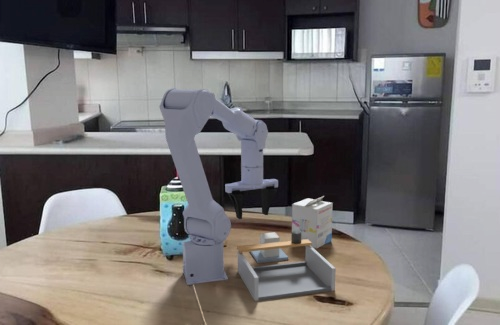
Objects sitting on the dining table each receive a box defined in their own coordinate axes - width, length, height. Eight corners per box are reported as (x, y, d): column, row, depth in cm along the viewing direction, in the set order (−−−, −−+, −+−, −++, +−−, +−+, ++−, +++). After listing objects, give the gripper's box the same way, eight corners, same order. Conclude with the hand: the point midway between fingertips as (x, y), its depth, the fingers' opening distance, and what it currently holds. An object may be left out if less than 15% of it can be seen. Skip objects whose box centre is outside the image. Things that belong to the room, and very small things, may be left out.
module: (264, 257, 112) (264, 238, 111) (259, 251, 116) (259, 233, 115) (279, 256, 113) (279, 237, 112) (274, 250, 117) (274, 232, 116)
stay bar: (239, 252, 103) (239, 240, 102) (237, 248, 105) (236, 236, 105) (311, 245, 108) (311, 233, 107) (307, 241, 110) (308, 229, 109)
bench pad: (258, 264, 111) (258, 260, 110) (249, 253, 118) (249, 248, 118) (288, 261, 113) (288, 257, 112) (278, 250, 120) (278, 245, 120)
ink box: (307, 235, 132) (308, 191, 129) (332, 241, 127) (333, 196, 124) (290, 243, 125) (291, 197, 123) (316, 250, 120) (317, 202, 118)
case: (254, 303, 92) (254, 277, 91) (237, 273, 106) (237, 251, 105) (334, 292, 96) (335, 268, 95) (308, 265, 110) (308, 243, 109)
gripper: (232, 170, 109) (233, 224, 111) (284, 165, 115) (283, 216, 117) (221, 166, 115) (222, 216, 117) (271, 161, 121) (270, 209, 123)
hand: (252, 216), depth 118 cm, fingers open, 7 cm apart
